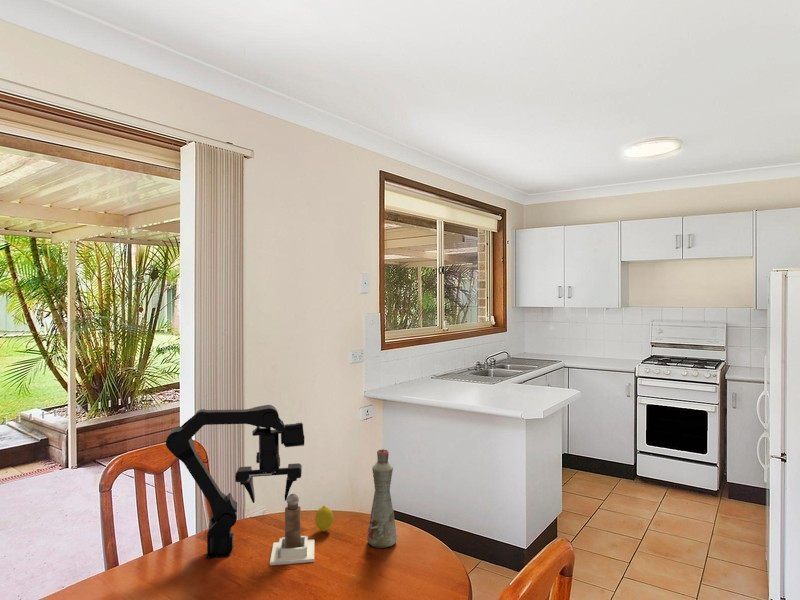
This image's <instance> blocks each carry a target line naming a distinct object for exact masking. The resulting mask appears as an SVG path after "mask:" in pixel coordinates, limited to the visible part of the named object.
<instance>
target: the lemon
mask: <svg viewBox="0 0 800 600" xmlns="http://www.w3.org/2000/svg"><path fill="white" fill-rule="evenodd" d="M314 519H315V520H314V521H315V524H316V527H317V528H318V529H319V530H321V531H322V532H326V531H327V530H329V529H330V528H331V527H332V525H333V523H334V514H333V511H332V509H331V508H329V507H328V506H326V505H322V506H321V507H319V508H318V509H317V510H316V513H315V517H314Z"/></svg>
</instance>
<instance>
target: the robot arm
mask: <svg viewBox="0 0 800 600" xmlns="http://www.w3.org/2000/svg"><path fill="white" fill-rule="evenodd" d="M206 425H210V426H211V425H212V426H213V425H218V426H219V425H250V426H253V427H255V428H254V429H253V430H252V432H251V433H252V436H253V437H256V436H257V437H258V452H256V455H255V456H256V457H255V459H256V460H255V461H256V462H255V463H256V464H258V467H259V469H253V468H252V466H249V465H248V466H239V468H238V469H237V470H236V472H235V475H234V477H235V482H236V483H240V485H242V486H244V488H245V490H246V491H247V493H248V495H249V497H250V499H251V502H252V503H253V504H255V502H256V500H255V499H256V496H255V495H256V494H255V487H254V477H256V478H257V477H269V476H270V477H271V476H284V475H285V476H286V475H287V476H286V480H285V481H286V482H285V490H284V501H286V502H287V498H288V496H289V493H290V489H291V487H292V484H293V483H294V482H297V481H298V480H297V479H300V478H302V473H303V472H302V471H303V465H302V464H301V463H298V462H297V463H288V464H287V467H281V458H280V457H281V456H280V444H281V445H283V446H284V447H285V448H292V447H303V446H304V447H305V439H306V438H305V433H304V423H303V422H296V423H289V424H287V423H286V424H285V423H284V420H282V419H281V418H280V416H279V412H278V409H277V408H276V407H275V406H274V405H271V404H265V405H259V406H255V407H252V408H246V409H205V408H202V409H199V410H197V411H196V412H195V414H193V416H191V417H190V418H188V420H187V421H185V422H184V423H183V424H182V425H181V426H177V427H174V428H173V429H171V431H170V432H169V433H168V435H167V437H166V441H165V446H166V448H167V450H168V451H169V452H170V453H171V454H172V456H174V457H175V458H176V459H178V460H179V461H180V462H182V463H183V464H184V466H185V468H186V469H187V471H188V472H189V474H190V475H191V477H192V478H193V480H194V482H195V483H196V485H197V487H198V488H199V489H200V491H201V493H202V494H203V495H204V497H205V498H206V500H207V502H208V504H209V506H210V510H211V514H212V517H210V519H209V521H208V528H207V533H206V555H205V558H206V559H214V558H228V557H230V555H231V554H232V552H233V550H234V543H235V542H234V541H235V540H234V538H235V537H234V536H235V535H234V533H232V532H233V531H232V527H233V526H235V524H236V523H237V519H238V502H237V501H235V500H234V497H233V495H232V493H231V492H229V493H227V494H225V493H223V492H222V490H221V489H220V487H219V486H218V485H217V482H215V480H214V478H213V477H212V475H211V473H210V472H209V470H208V468H207V467H206V465H205V464H204V462H203V461H202V460H201V457H200V455H199V454H198V453H197V450H196V446H195V442H194V440H193V437H195V435H196V434H197V433H198V431H200V429H201V428H202V427H204V426H206ZM279 434H280V435H279ZM279 438H280V439H279ZM279 441H280V442H279Z"/></svg>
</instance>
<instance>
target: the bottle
mask: <svg viewBox="0 0 800 600" xmlns="http://www.w3.org/2000/svg"><path fill="white" fill-rule="evenodd" d="M376 454H377V455H376V457H377V459H376V460H377V461H376V462H375V463H374V464H373V465H372V469H371V470H372V476H373V484H374V494H373V498H372V499H373V500H372V507H371V511H370V518H369V521H368V526H367V539H366V540H367V542H368V544H369V545H370V546H371V547H373V548H377V549H384V548H389V547H392V546H393V545H395V544H396V543H397V541H398V535H397V534H398V533H397V527H396V526H397V525H396V521H395V513H394V508H393V502H392V501H393V500H392V495H391V484H392V483H391V482H392V476H393V472H394V471H393V470H394V467H393V466H392V464H391V463H390V462H389V450H388V449H379V450H377V452H376Z"/></svg>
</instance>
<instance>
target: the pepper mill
mask: <svg viewBox="0 0 800 600" xmlns="http://www.w3.org/2000/svg"><path fill="white" fill-rule="evenodd" d="M299 502H300V498H299V496H298V494H296V493H291V494H288V496H287V500H286V503H287V506H285V508H284V537H285V548H298V547H301V536H302V534H301V533H302V532H301V531H302V529H301V526H302V525H301V524H302V523H301V522H302V521H301V518H302V515H301V513H302V512H301V510H302V509H301V508H302V507H301V506H300V505H299Z"/></svg>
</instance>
